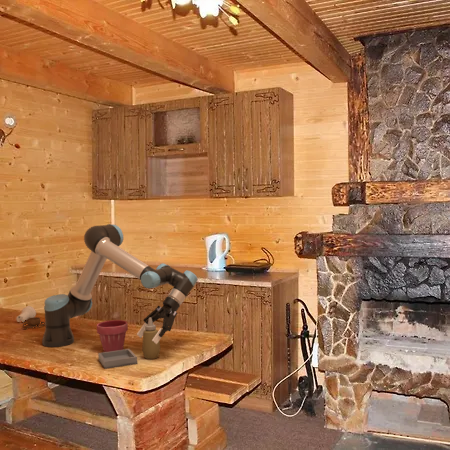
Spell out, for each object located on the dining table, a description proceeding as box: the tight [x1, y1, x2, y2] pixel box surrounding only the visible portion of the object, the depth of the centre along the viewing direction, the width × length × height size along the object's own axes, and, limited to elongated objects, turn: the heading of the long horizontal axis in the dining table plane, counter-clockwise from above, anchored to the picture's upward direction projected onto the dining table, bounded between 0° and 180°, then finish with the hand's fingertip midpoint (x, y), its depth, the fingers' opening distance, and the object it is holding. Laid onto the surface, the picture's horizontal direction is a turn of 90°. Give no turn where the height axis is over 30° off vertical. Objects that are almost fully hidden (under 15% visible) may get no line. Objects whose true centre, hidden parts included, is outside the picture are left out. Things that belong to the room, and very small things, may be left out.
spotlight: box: [16, 305, 37, 323], centre depth 315 cm, size 8×11×8 cm
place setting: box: [22, 316, 45, 329], centre depth 300 cm, size 18×20×6 cm
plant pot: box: [96, 319, 129, 352], centre depth 249 cm, size 14×14×13 cm
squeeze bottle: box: [141, 317, 161, 360], centre depth 236 cm, size 8×8×18 cm
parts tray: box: [97, 348, 138, 370], centre depth 231 cm, size 14×14×3 cm
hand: (146, 339), depth 235 cm, fingers open, 13 cm apart
